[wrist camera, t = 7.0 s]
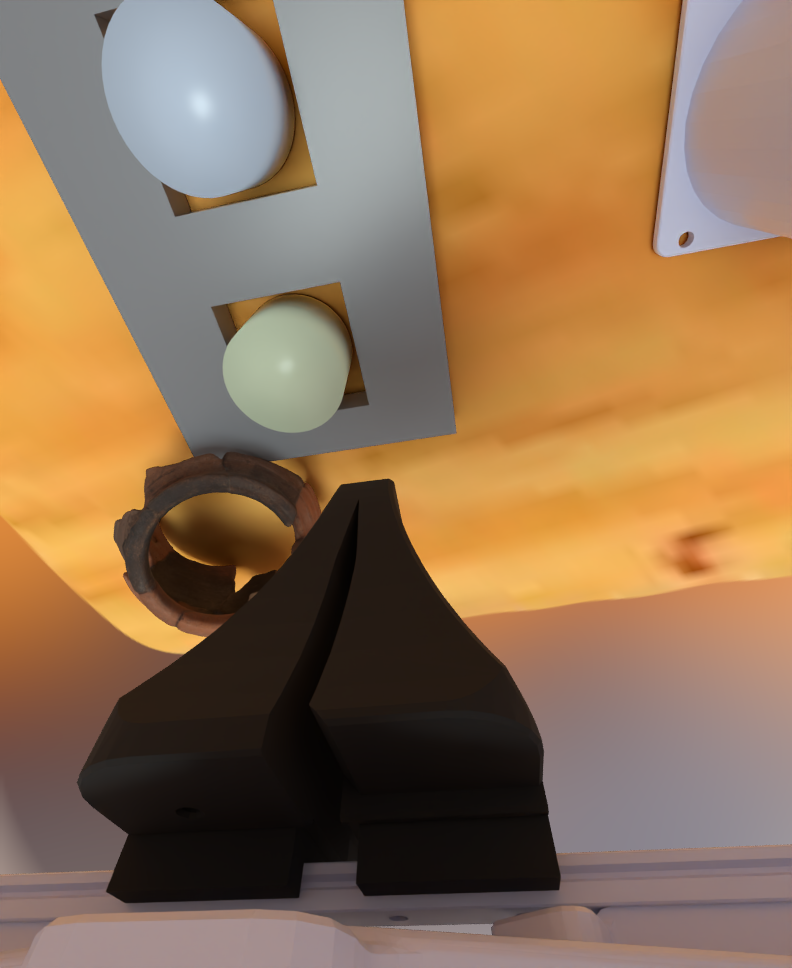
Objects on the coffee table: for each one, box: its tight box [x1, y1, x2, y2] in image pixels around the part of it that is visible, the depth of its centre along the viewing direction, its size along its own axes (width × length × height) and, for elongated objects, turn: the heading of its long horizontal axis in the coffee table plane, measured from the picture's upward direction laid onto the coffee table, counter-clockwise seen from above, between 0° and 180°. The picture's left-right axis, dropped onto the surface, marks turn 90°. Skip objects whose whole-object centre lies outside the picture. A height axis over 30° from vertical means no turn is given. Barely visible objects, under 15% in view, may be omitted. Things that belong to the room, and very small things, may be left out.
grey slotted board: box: [0, 0, 456, 461], centre depth 15 cm, size 12×25×2 cm, turn 10°
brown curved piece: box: [114, 452, 321, 637], centre depth 24 cm, size 12×10×8 cm
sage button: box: [223, 294, 352, 433], centre depth 18 cm, size 4×4×3 cm
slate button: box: [102, 0, 295, 198], centre depth 14 cm, size 4×4×3 cm
